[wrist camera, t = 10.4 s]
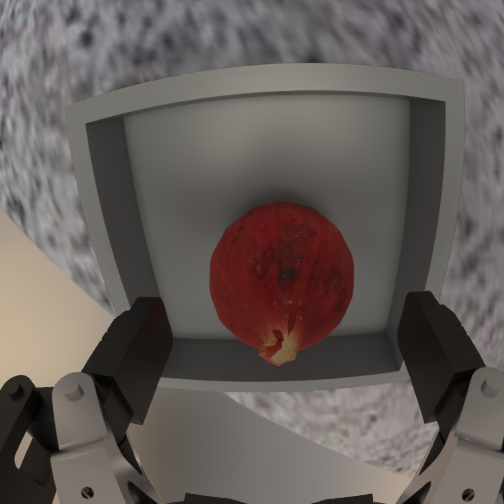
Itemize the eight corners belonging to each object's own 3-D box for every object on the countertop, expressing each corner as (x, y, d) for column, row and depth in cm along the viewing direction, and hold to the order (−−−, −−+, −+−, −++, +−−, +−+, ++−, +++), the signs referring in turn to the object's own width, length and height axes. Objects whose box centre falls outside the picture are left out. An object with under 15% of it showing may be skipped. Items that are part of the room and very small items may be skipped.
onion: (232, 172, 14) (187, 248, 7) (349, 195, 14) (413, 285, 7) (218, 276, 17) (184, 394, 10) (320, 293, 17) (340, 413, 10)
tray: (417, 83, 12) (464, 81, 8) (391, 331, 19) (410, 379, 15) (113, 102, 14) (64, 106, 10) (167, 338, 21) (148, 385, 17)
